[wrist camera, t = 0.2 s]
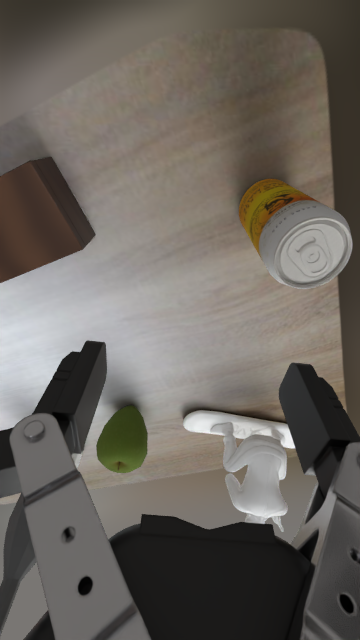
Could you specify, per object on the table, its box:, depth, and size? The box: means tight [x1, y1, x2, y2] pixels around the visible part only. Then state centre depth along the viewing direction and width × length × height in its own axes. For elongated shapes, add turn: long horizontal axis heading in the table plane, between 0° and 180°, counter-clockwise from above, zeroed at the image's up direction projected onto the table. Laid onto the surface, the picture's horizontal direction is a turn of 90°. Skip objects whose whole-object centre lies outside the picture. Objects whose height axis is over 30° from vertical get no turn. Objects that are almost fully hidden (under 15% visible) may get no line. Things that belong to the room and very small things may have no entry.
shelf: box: [0, 157, 95, 283], centre depth 32 cm, size 16×9×5 cm, turn 112°
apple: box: [96, 405, 147, 473], centre depth 49 cm, size 9×8×12 cm
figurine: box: [183, 410, 295, 531], centre depth 48 cm, size 26×13×17 cm, turn 77°
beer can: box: [239, 179, 352, 289], centre depth 26 cm, size 6×6×15 cm
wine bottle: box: [0, 447, 84, 635], centre depth 47 cm, size 8×8×30 cm
